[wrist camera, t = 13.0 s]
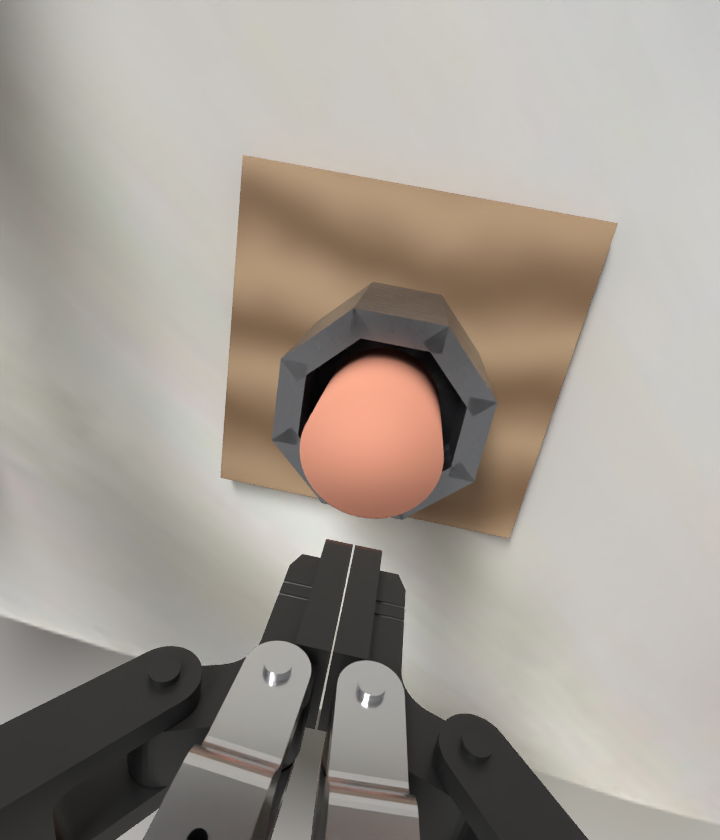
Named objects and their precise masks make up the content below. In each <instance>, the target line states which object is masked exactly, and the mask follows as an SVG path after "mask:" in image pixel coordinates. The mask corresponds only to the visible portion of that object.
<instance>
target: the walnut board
mask: <svg viewBox="0 0 720 840" xmlns="http://www.w3.org/2000/svg"><path fill="white" fill-rule="evenodd" d="M617 224H618V223H613V222H607V221H602V220H596V219H591V218H585V217H580V216H574V215H569V214H563V213H558V212H552V211H547V210H541V209H536V208H530V207H525V206H519V205H514V204H508V203H503V202H498V201H492V200H487V199H481V198H476V197H470V196H465V195H459V194H454V193H448V192H443V191H437V190H432V189H426V188H421V187H415V186H410V185H404V184H399V183H393V182H388V181H382V180H377V179H371V178H366V177H360V176H355V175H349V174H344V173H338V172H333V171H327V170H322V169H316V168H311V167H305V166H300V165H295V164H289V163H284V162H278V161H273V160H267V159H262V158H256V157H251V156H245V155H243V162H242V177H241V191H240V205H239V220H238V234H237V248H236V263H235V277H234V291H233V306H232V320H231V335H230V349H229V363H228V378H227V392H226V406H225V421H224V435H223V450H222V464H221V478H225V479H230V480H234V481H239V482H244V483H249V484H253V485H258V486H263V487H268V488H272V489H277V490H282V491H287V492H291V493H296V494H301V495H306V496H310V497H315V498H318V497H317V496H316V495H315V494H314V492H313V491H312V490H311V489H310V487H309V486H308V485H307V484H306V482H305V481H304V480H303V479H302V477H301V476H300V475H299V474H298V472H297V471H296V470H295V469H294V467H293V466H292V465H291V464H290V462H289V461H288V460H287V459H286V457H285V456H284V455H283V454H282V452H281V451H280V450H279V449H278V447H277V446H276V445H275V444H274V442H273V441H272V433H273V424H274V415H275V406H276V397H277V388H278V379H279V370H280V361H281V360H280V359H281V358H282V357H283V356H284V355H285V354H286V353H287V352H288V351H289V350H290V349H291V348H292V347H293V346H294V345H295V344H296V343H297V342H298V341H299V340H300V339H301V338H302V337H303V336H304V334H305V333H306V332H307V331H308V330H309V329H310V328H311V327H312V326H313V325H314V324H315V323H316V322H317V321H318V320H320V319H321V318H323V317H324V316H325V315H327V314H328V313H330V312H331V311H332V310H334V309H335V308H337V307H338V306H339V305H341V304H342V303H344V302H345V301H346V300H348V299H349V298H351V297H352V296H353V295H355V294H356V293H358V292H359V291H360V290H362V289H363V288H365V287H366V286H367V285H369V284H370V283H372V282H377V283H383V284H388V285H393V286H398V287H404V288H409V289H414V290H419V291H425V292H430V293H435V294H440V295H442V296H443V297H444V299H445V300H446V302H447V303H448V305H449V307H450V308H451V310H452V311H453V313H454V314H455V316H456V318H457V319H458V321H459V322H460V324H461V325H462V327H463V329H464V330H465V332H466V333H467V335H468V336H469V338H470V340H471V341H472V343H473V344H474V346H475V347H476V349H477V351H478V352H479V354H480V357H481V360H482V362H483V365H484V368H485V370H486V373H487V375H488V378H489V381H490V383H491V386H492V389H493V391H494V394H495V396H496V399H497V402H498V403H497V406H496V410H495V413H494V416H493V420H492V423H491V427H490V430H489V433H488V437H487V440H486V443H485V447H484V450H483V454H482V457H481V460H480V464H479V467H478V471H477V474H476V477H475V481H474V482H473V483H471V484H469V485H467V486H465V487H463V488H461V489H460V490H458V491H456V492H454V493H452V494H450V495H448V496H446V497H444V498H442V499H440V500H439V501H437V502H435V503H433V504H431V505H429V506H427V507H425V508H423V509H421V510H420V511H418V512H416V513H414V514H412V515H410V516H408V517H410V518H415V519H420V520H425V521H429V522H434V523H439V524H444V525H448V526H453V527H458V528H463V529H467V530H472V531H477V532H482V533H487V534H491V535H496V536H501V537H506V538H510V535H511V532H512V529H513V526H514V523H515V520H516V517H517V514H518V511H519V509H520V506H521V503H522V500H523V497H524V494H525V491H526V488H527V485H528V482H529V480H530V477H531V474H532V471H533V468H534V465H535V462H536V459H537V456H538V453H539V451H540V448H541V445H542V442H543V439H544V436H545V433H546V430H547V427H548V424H549V422H550V419H551V416H552V413H553V410H554V407H555V404H556V401H557V398H558V395H559V393H560V390H561V387H562V384H563V381H564V378H565V375H566V372H567V369H568V366H569V364H570V361H571V358H572V355H573V352H574V349H575V346H576V343H577V340H578V337H579V335H580V332H581V329H582V326H583V323H584V320H585V317H586V314H587V311H588V308H589V306H590V303H591V300H592V297H593V294H594V291H595V288H596V285H597V282H598V279H599V277H600V274H601V271H602V268H603V265H604V262H605V259H606V256H607V253H608V250H609V248H610V245H611V242H612V239H613V236H614V233H615V230H616V227H617Z"/></svg>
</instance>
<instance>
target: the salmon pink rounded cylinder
mask: <svg viewBox="0 0 720 840" xmlns="http://www.w3.org/2000/svg"><path fill="white" fill-rule="evenodd" d="M300 460H301V465H302V469H303V471H304V474H305V476H306V478H307V480H308V482H309V484H310V485H311V486H312V488H313V489H314V490H315V492H316V493H317V494H318V495H319V496H320V497H321V498H322V499H323V500H325V501H326V502H327V503H329V504H330V505H331V506H333V507H335V508H336V509H338V510H340V511H342V512H345V513H347V514H350V515H354V516H357V517H363V518H375V519H377V518H388V517H393V516H397V515H400V514H403V513H405V512H407V511H409V510H411V509H413V508H415V507H416V506H418V505H419V504H420V503H422V502H423V501H424V500H425V499H426V498H427V497H428V496H429V495H430V494H431V492H432V491H433V489H434V488H435V487H436V485H437V483H438V481H439V478H440V476H441V473H442V468H443V463H444V450H443V437H442V425H441V412H440V399H439V392H438V388H437V385H436V382H435V380H434V378H433V376H432V375H431V373H430V372H429V370H428V369H427V368H426V367H425V366H424V365H423V364H422V363H421V362H420V361H419V360H418V359H416V358H415V357H413V356H411V355H410V354H408V353H405V352H403V351H400V350H397V349H392V348H371V349H367V350H363V351H360V352H358V353H356V354H354V355H352V356H350V357H349V358H348V359H346V360H345V361H344V362H343V363H342V364H341V365H340V366H339V367H338V368H337V370H336V371H335V372H334V374H333V376H332V378H331V379H330V381H329V383H328V385H327V387H326V388H325V390H324V392H323V394H322V396H321V398H320V399H319V401H318V403H317V405H316V407H315V408H314V410H313V412H312V414H311V416H310V417H309V419H308V421H307V423H306V425H305V427H304V429H303V432H302V435H301V440H300Z"/></svg>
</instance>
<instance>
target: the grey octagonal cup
mask: <svg viewBox="0 0 720 840" xmlns="http://www.w3.org/2000/svg"><path fill="white" fill-rule="evenodd" d="M371 348H392V349H397V350H400V351H403V352H405V353H408V354H410V355H411V356H413V357H415V358H416V359H418V360H419V361H420V362H421V363H422V364H423V365H424V366H425V367H426V368H427V369H428V370H429V372H430V373H431V375H432V376H433V378H434V380H435V382H436V385H437V388H438V392H439V399H440V412H441V425H442V437H443V450H444V463H443V468H442V473H441V476H440V478H439V481H438V483H437V485H436V487H435V488H434V489H433V491H432V492H431V494H430V495H429V496H428V497H427V498H426V499H425V500H424V501H423V502H422V503H420V504H419V505H418V506H416V507H415V508H413V509H411V510H409V511H407V512H405V513H403V514H400V515H397V516H393V517H392V518H396V519H401V520H402V519H404V518H406V517H408V516H410V515H412V514H414V513H416V512H418V511H420V510H421V509H423V508H425V507H427V506H429V505H431V504H433V503H435V502H437V501H439V500H440V499H442V498H444V497H446V496H448V495H450V494H452V493H454V492H456V491H458V490H460V489H461V488H463V487H465V486H467V485H469V484H471V483H473V482H474V481H475V477H476V474H477V471H478V467H479V464H480V460H481V457H482V454H483V450H484V447H485V443H486V440H487V437H488V433H489V430H490V427H491V423H492V420H493V416H494V413H495V410H496V406H497V403H498V402H497V399H496V396H495V394H494V391H493V389H492V386H491V383H490V381H489V378H488V375H487V373H486V370H485V368H484V365H483V362H482V360H481V357H480V354H479V352H478V351H477V349H476V347H475V346H474V344H473V343H472V341H471V340H470V338H469V336H468V335H467V333H466V332H465V330H464V329H463V327H462V325H461V324H460V322H459V321H458V319H457V318H456V316H455V314H454V313H453V311H452V310H451V308H450V307H449V305H448V303H447V302H446V300H445V299H444V297H443V296H442V295H440V294H435V293H430V292H425V291H419V290H414V289H409V288H404V287H398V286H393V285H388V284H383V283H377V282H372V283H370V284H369V285H367V286H366V287H365V288H363V289H362V290H360V291H359V292H358V293H356V294H355V295H353V296H352V297H351V298H349V299H348V300H346V301H345V302H344V303H342V304H341V305H339V306H338V307H337V308H335V309H334V310H332V311H331V312H330V313H328V314H327V315H325V316H324V317H323V318H321V319H320V320H318V321H317V322H316V323H315V324H314V325H313V326H312V327H311V328H310V329H309V330H308V331H307V332H306V333H305V334H304V336H303V337H302V338H301V339H300V340H299V341H298V342H297V343H296V344H295V345H294V346H293V347H292V348H291V349H290V350H289V351H288V352H287V353H286V354H285V355H284V356H283V357H282V358H281V359H280V360H281V361H280V370H279V379H278V388H277V397H276V406H275V415H274V424H273V433H272V441H273V442H274V444H275V445H276V446H277V447H278V449H279V450H280V451H281V452H282V454H283V455H284V456H285V457H286V459H287V460H288V461H289V462H290V464H291V465H292V466H293V467H294V469H295V470H296V471H297V472H298V474H299V475H300V476H301V477H302V479H303V480H304V481H305V482H306V484H307V485H308V486H309V487H310V489H311V490H312V491H313V492H314V494H315V495H316V496H317V497H318V499H319V500H320V501H321V502H322V503H325V504H329V503H327V502H326V501H325V500H323V499H322V498H321V497H320V496H319V495H318V494H317V493H316V492H315V490H314V489H313V488H312V486H311V485H310V484H309V482H308V480H307V478H306V476H305V474H304V471H303V469H302V465H301V460H300V440H301V435H302V432H303V429H304V427H305V425H306V423H307V421H308V419H309V417H310V416H311V414H312V412H313V410H314V408H315V407H316V405H317V403H318V401H319V399H320V398H321V396H322V394H323V392H324V390H325V388H326V387H327V385H328V383H329V381H330V379H331V378H332V376H333V374H334V372H335V371H336V370H337V368H338V367H339V366H340V365H341V364H342V363H343V362H344V361H345V360H346V359H348V358H349V357H350V356H352V355H354V354H356V353H358V352H360V351H363V350H367V349H371Z"/></svg>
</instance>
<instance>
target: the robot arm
mask: <svg viewBox="0 0 720 840" xmlns="http://www.w3.org/2000/svg"><path fill="white" fill-rule="evenodd" d="M352 547H353V545H352V544H347V543H343V542H338V541H333V540H329V539H326V542H325V545H324V548H323V552H322V555H321V558H318V557H313V556H309V555H304V554H302V555H301V556H300V557H299V558H298V559H296V560H295V561H294V562H293V563H292V564H291V565H290V566H289V569H288V571H287V574H286V577H285V579H284V583H283V585H282V587H281V590H280V593H279V595H278V598H277V600H276V603H275V605H274V608H273V611H272V613H271V616H270V619H269V621H268V624H267V626H266V629H265V632H264V634H263V637H262V640H261V642H260V644H259V645H258V646H257V647H255V648H254V649H253V650H252V651H251V652H250V653H249V654H248V655H247V657H245V658H244V659H242V660H239V661H237V662H234V663H230V664H224V665H211V666H201V663H200V661H199V659H198V658H197V656H196V655H195V654H194V653H192V652H191V651H189V650H187V649H185V648H181V647H175V646H166V647H160V648H157V649H153V650H151V651H149V652H147V653H145V654H143V655H141V656H139V657H137V658H135V659H133V660H131V661H129V662H127V663H125V664H123V665H121V666H118V667H116V668H115V669H112V670H110V671H109V672H106V673H105V674H102V675H100V676H98V677H96V678H95V679H92V680H90V681H88V682H86V683H85V684H82V685H80V686H78V687H77V688H74V689H72V690H71V691H68V692H66V693H65V694H62V695H60V696H58V697H56V698H54V699H52V700H50V701H48V702H47V703H44V704H42V705H40V706H38V707H36V708H34V709H32V710H30V711H28V712H26V713H24V714H22V715H20V716H18V717H16V718H14V719H12V720H10V721H8V722H6V723H4V724H2V725H0V840H116V839H117V838H118V837H120V836H121V835H122V834H124V833H125V832H127V831H128V830H129V829H131V828H132V827H134V826H135V825H136V824H138V823H139V822H140V821H142V820H143V819H144V818H146V817H147V816H149V815H150V814H151V813H153V812H154V811H156V810H157V809H158V808H159V809H158V811H157V813H156V815H155V817H154V819H153V821H152V823H151V824H150V826H149V828H148V830H147V832H146V834H145V836H144V838H143V840H271V837H272V834H273V831H274V828H275V825H276V821H277V818H278V815H279V812H280V809H281V806H282V802H283V799H284V796H285V792H286V790H287V786H288V783H289V780H290V777H291V774H292V771H293V767H294V764H295V759H296V757H297V755H298V753H299V751H300V748H301V744H302V740H303V736H304V731H305V727H307V728H312V729H315V725H316V720H317V715H318V711H319V706H320V701H321V697H322V692H323V687H324V682H325V678H326V673H327V668H328V664H329V659H330V654H331V650H332V645H333V640H334V635H335V631H336V626H337V621H338V617H339V612H340V607H341V602H342V597H343V593H344V588H345V583H346V577H347V572H348V567H349V562H350V557H351V552H352ZM381 556H382V551H381V550H376V549H371V548H367V547H362V546H357V545H355V550H354V554H353V559H352V564H351V569H350V574H349V578H348V583H347V588H346V593H345V598H344V602H343V607H342V612H341V617H340V622H339V627H338V631H337V636H336V641H335V646H334V651H333V656H332V660H331V665H330V670H329V675H328V680H327V685H326V690H325V695H324V700H323V705H322V710H321V715H320V720H319V726H318V730H322V731H326V737H325V742H324V747H323V753H322V758H321V762H320V767H319V773H318V782H317V790H316V799H315V808H314V816H313V825H312V834H311V840H588V839H587V837H586V836H585V835H584V834H583V832H582V831H581V830H580V829H579V828H578V826H577V825H576V824H575V823H574V821H573V820H572V819H571V818H570V817H569V815H568V814H567V813H566V812H565V811H564V809H563V808H562V807H561V806H560V804H559V803H558V802H557V801H556V800H555V798H554V797H553V796H552V795H551V794H550V792H549V791H548V790H547V789H546V787H545V786H544V785H543V784H542V782H541V781H540V780H539V779H538V778H537V776H536V775H535V774H534V773H533V771H532V770H531V769H530V768H529V767H528V765H527V764H526V763H525V762H524V760H523V759H522V758H521V757H520V756H519V754H518V753H517V752H516V751H515V749H514V748H513V747H512V746H511V745H510V743H509V742H508V741H507V740H506V738H505V737H504V736H503V735H502V734H501V732H500V731H499V730H498V729H497V728H496V727H495V726H493V725H492V724H491V723H490V722H488V721H487V720H485V719H483V718H481V717H478V716H475V715H472V714H457V715H454V716H451V717H450V718H448V719H447V720H446V721H445V720H443V719H441V718H439V717H438V716H436V715H434V714H432V713H430V712H429V711H427V710H425V709H424V708H422V707H421V706H420V705H419V704H417V703H416V702H415V701H414V700H413V699H412V697H411V696H410V695H409V693H408V692H407V690H406V688H405V686H404V684H403V680H402V675H401V668H402V648H403V629H404V607H405V588H404V586H403V584H402V582H401V580H400V577H399V575H398V574H393V573H388V572H384V571H380V564H381Z"/></svg>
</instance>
